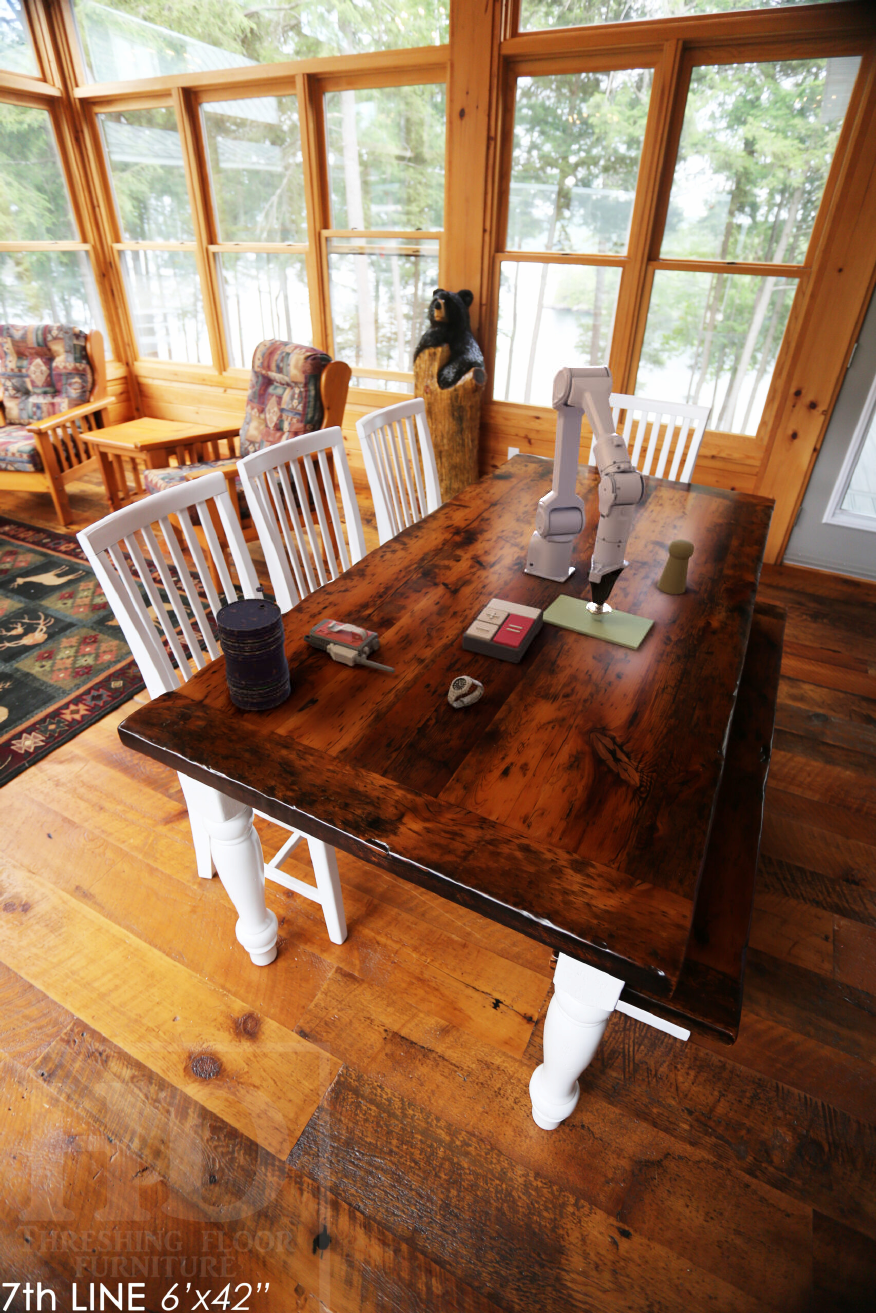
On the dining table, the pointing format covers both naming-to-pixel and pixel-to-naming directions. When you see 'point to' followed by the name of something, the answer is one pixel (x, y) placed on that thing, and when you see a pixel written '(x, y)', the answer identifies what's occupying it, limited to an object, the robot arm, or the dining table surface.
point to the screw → (598, 610)
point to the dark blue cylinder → (254, 652)
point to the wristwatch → (464, 691)
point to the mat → (598, 622)
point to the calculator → (503, 630)
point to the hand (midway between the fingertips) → (599, 601)
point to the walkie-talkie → (345, 643)
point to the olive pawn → (676, 567)
